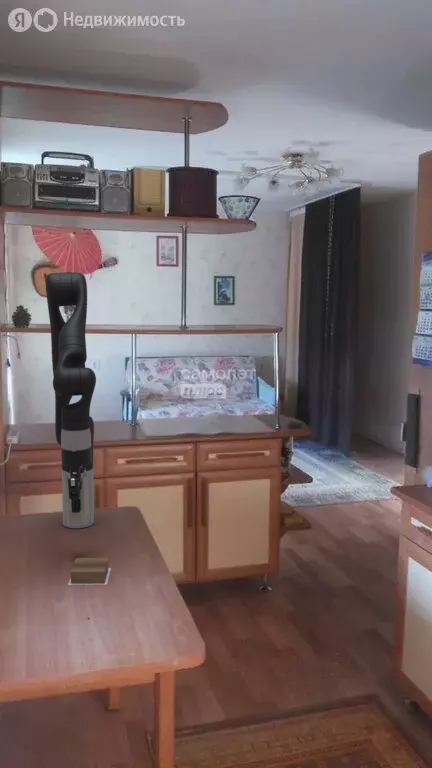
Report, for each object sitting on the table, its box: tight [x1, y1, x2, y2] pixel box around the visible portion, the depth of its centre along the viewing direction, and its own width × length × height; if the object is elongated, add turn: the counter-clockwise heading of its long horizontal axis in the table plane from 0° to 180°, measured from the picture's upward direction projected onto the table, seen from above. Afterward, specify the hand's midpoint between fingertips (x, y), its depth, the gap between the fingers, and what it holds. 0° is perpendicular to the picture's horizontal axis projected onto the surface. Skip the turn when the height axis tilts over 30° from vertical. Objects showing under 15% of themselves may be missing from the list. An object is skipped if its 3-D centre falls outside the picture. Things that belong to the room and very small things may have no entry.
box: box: [65, 473, 90, 525], centre depth 172 cm, size 5×4×13 cm
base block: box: [70, 557, 109, 584], centre depth 162 cm, size 8×8×3 cm
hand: (77, 508), depth 172 cm, fingers closed on box, 4 cm apart
